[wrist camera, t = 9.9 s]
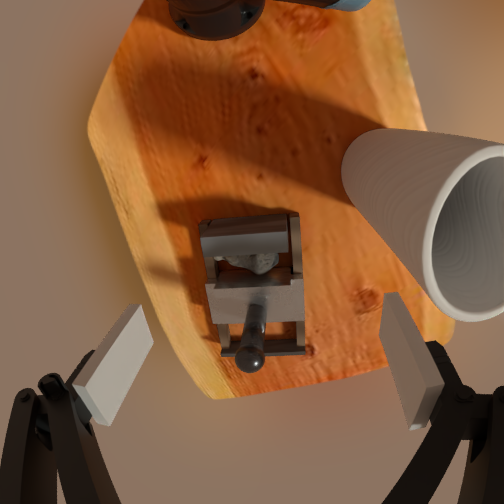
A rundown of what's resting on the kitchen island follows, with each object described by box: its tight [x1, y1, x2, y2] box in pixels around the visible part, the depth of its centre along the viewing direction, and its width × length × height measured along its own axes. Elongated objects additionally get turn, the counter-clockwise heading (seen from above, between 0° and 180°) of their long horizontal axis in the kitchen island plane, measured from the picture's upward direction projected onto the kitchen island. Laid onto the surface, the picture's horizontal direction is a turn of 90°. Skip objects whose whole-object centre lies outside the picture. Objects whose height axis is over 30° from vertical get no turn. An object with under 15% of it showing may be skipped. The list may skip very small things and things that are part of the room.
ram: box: [205, 267, 305, 373], centre depth 48 cm, size 8×16×18 cm, turn 96°
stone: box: [214, 253, 279, 275], centre depth 51 cm, size 10×5×8 cm
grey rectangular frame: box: [198, 213, 305, 357], centre depth 52 cm, size 26×16×9 cm, turn 6°
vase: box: [341, 128, 504, 322], centre depth 32 cm, size 14×14×32 cm
